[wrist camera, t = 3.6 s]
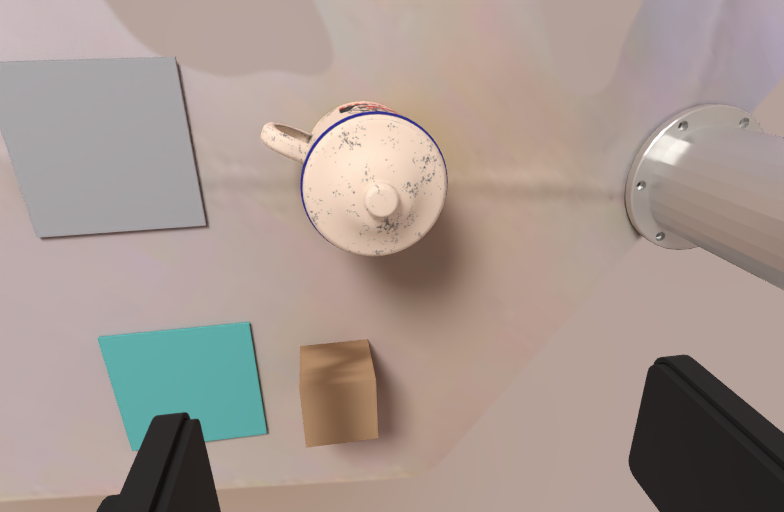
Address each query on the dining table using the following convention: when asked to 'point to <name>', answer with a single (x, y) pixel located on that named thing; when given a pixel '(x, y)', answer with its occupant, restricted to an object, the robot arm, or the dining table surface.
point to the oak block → (338, 393)
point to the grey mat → (100, 145)
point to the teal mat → (187, 379)
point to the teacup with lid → (366, 177)
